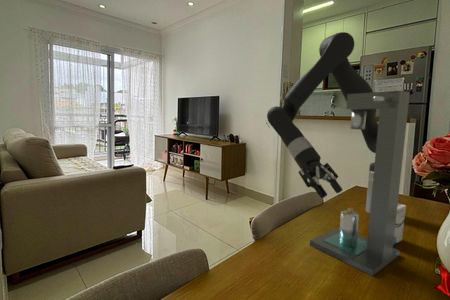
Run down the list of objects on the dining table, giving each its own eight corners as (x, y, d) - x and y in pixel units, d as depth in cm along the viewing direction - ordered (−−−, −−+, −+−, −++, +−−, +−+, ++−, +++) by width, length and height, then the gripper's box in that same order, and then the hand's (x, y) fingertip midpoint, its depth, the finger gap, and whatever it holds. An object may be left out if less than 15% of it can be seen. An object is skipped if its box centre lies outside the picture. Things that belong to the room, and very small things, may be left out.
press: (338, 231, 84) (348, 97, 78) (398, 255, 70) (417, 93, 64) (306, 246, 74) (315, 94, 68) (369, 278, 60) (387, 88, 54)
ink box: (390, 247, 74) (395, 200, 72) (372, 240, 78) (377, 196, 76) (402, 240, 79) (407, 195, 77) (385, 233, 83) (390, 191, 81)
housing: (344, 236, 77) (346, 204, 76) (360, 242, 73) (362, 209, 72) (335, 241, 74) (337, 207, 73) (351, 248, 70) (354, 212, 69)
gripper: (296, 147, 78) (328, 192, 70) (323, 144, 86) (353, 184, 78) (283, 161, 83) (310, 204, 75) (309, 157, 91) (336, 196, 83)
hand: (332, 194), depth 77 cm, fingers open, 8 cm apart
